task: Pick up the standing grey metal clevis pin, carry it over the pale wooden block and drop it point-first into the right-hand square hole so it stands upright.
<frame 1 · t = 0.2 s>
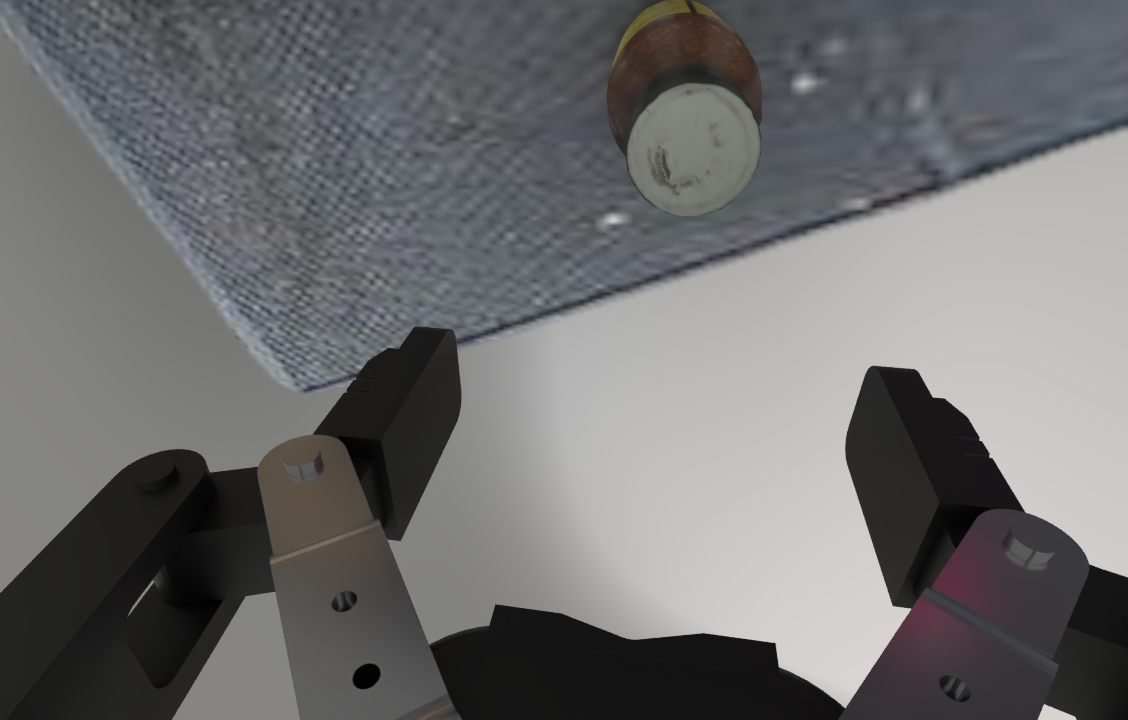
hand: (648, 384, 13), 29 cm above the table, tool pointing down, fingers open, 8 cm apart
sauce bottle: (677, 60, 36), on the table
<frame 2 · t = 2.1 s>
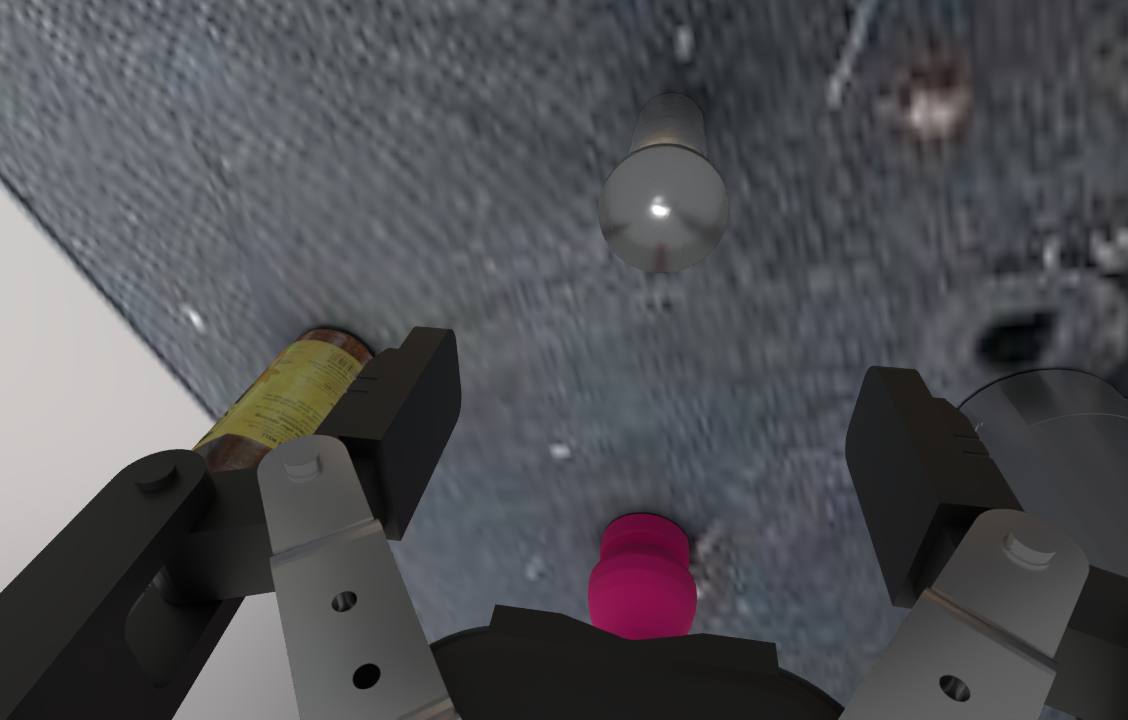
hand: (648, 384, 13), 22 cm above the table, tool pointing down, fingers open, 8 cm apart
clevis pin: (669, 128, 31), on the table
pepper mill: (645, 541, 47), on the table
sauce bottle: (341, 365, 42), on the table
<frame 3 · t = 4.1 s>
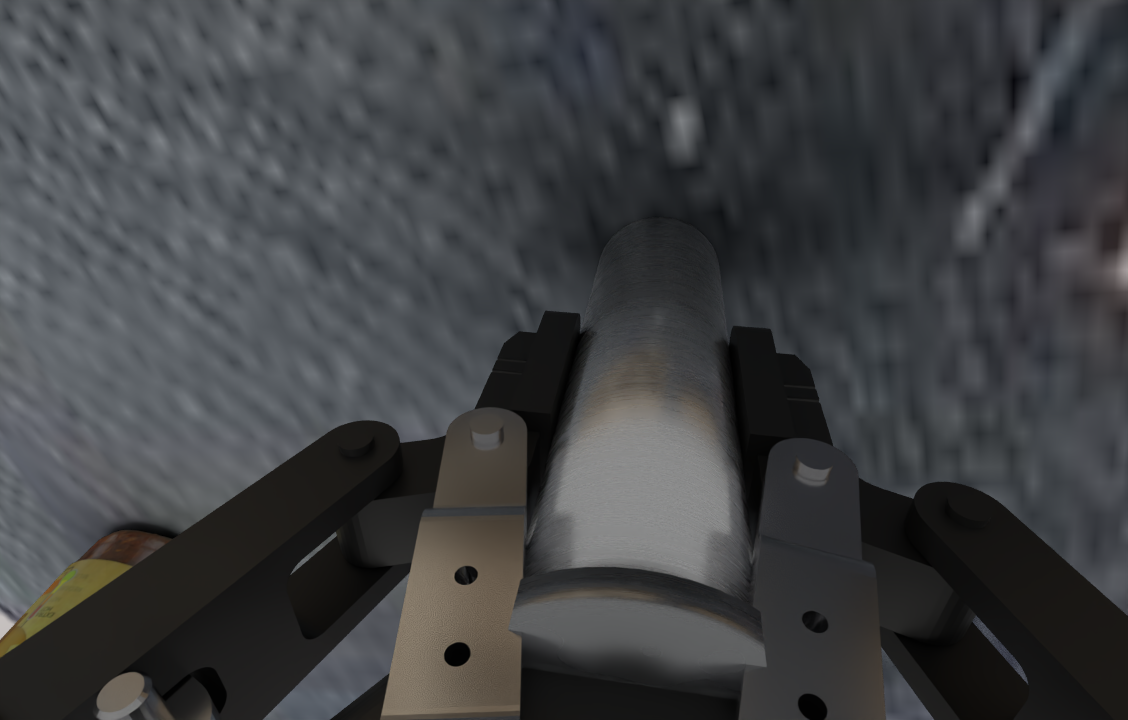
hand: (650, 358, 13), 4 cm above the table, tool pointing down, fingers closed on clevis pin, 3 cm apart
clevis pin: (657, 274, 17), on the table, touching gripper
sauce bottle: (173, 569, 28), on the table
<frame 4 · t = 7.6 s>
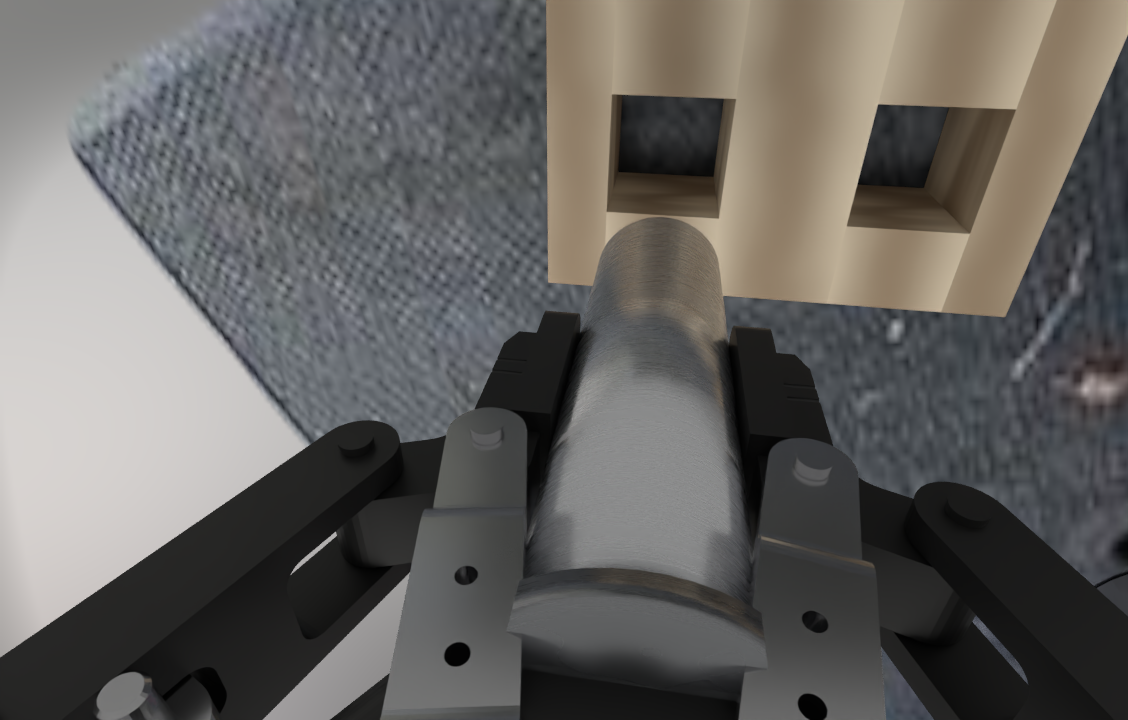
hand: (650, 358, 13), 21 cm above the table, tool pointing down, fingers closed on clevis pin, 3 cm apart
hole block: (775, 129, 31), on the table
clevis pin: (657, 274, 17), point 17 cm above the table, touching gripper
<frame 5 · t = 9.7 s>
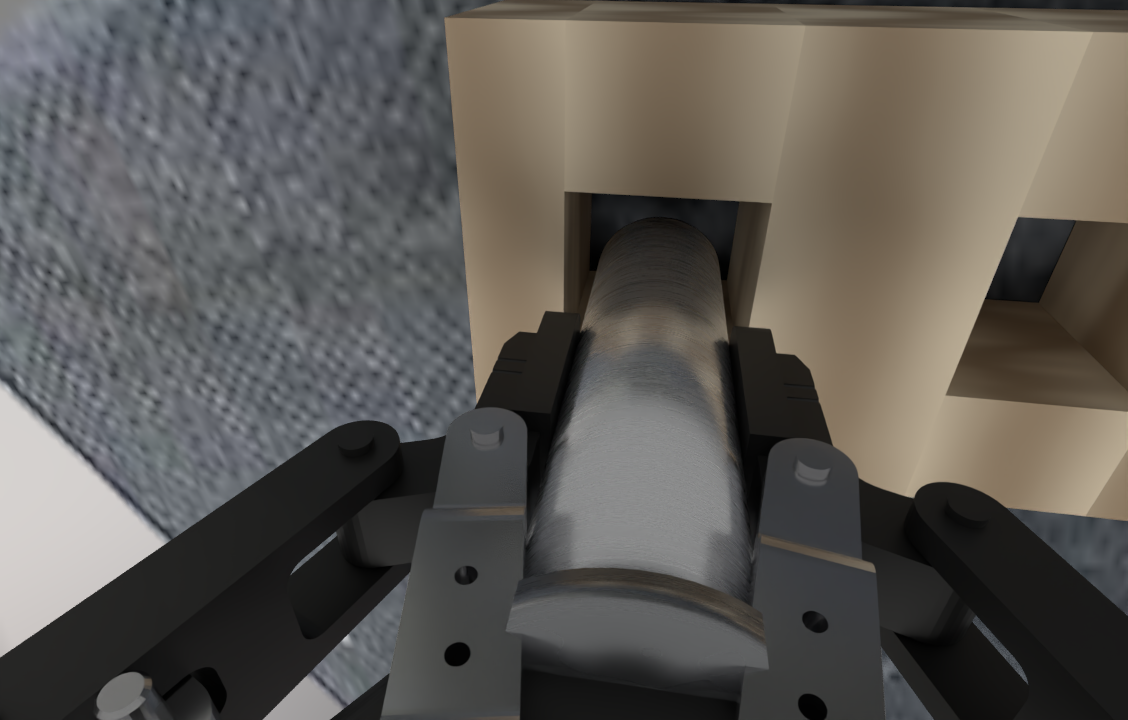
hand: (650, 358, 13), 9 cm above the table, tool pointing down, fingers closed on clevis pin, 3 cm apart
hole block: (820, 218, 21), on the table
clevis pin: (657, 274, 17), point 5 cm above the table, touching gripper
when the fingers open (7 cm above the table, at t = 11.2 s): clevis pin drops 3 cm, resting in hole block.
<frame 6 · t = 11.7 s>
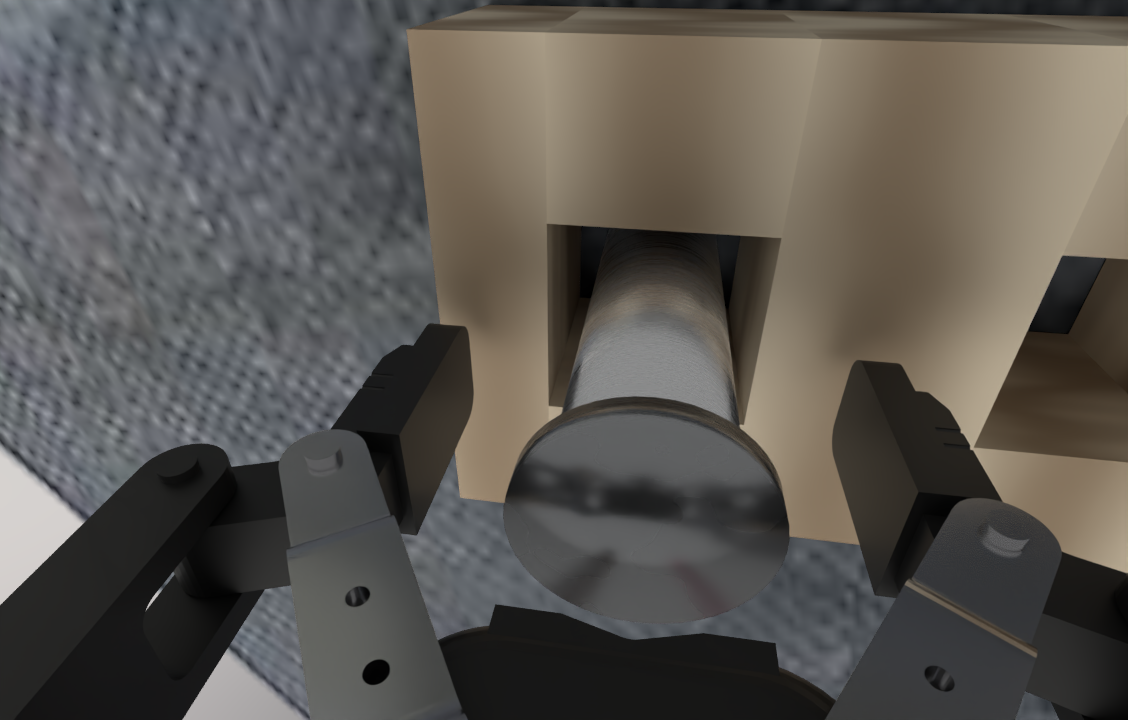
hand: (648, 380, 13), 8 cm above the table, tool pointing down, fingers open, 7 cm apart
hole block: (830, 243, 19), on the table
clevis pin: (661, 234, 19), resting in hole block
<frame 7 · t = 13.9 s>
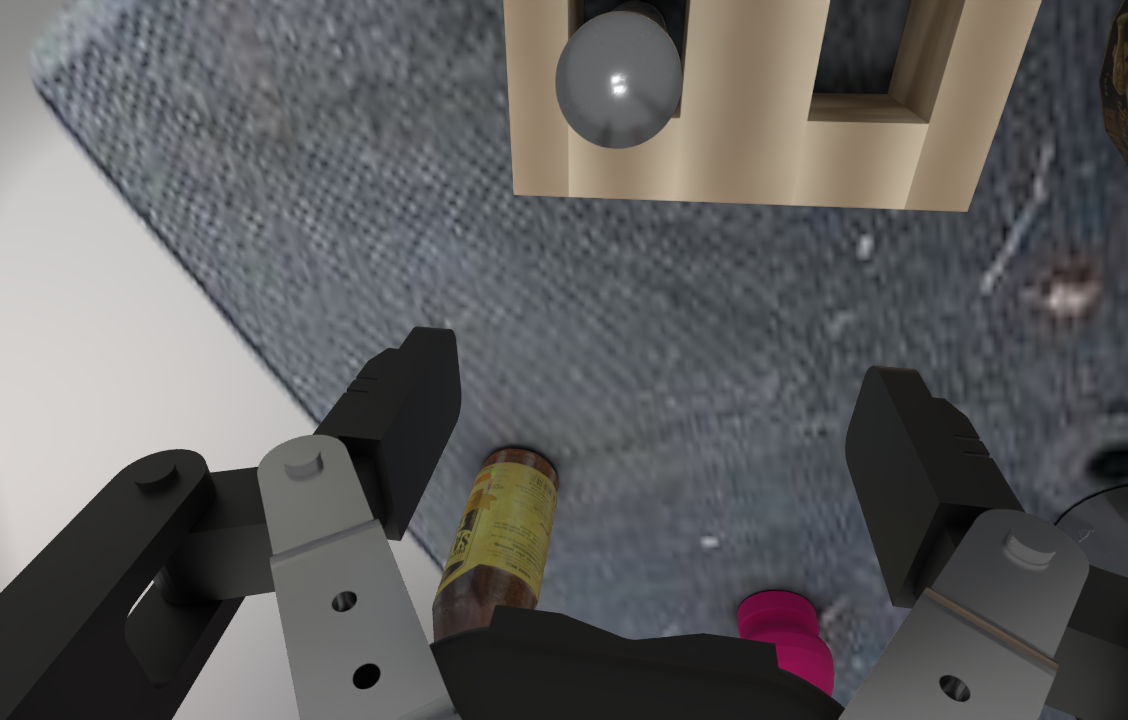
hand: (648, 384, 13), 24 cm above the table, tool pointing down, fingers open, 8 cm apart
hole block: (738, 37, 30), on the table
clevis pin: (634, 37, 31), resting in hole block
pepper mill: (775, 611, 53), on the table
sauce bottle: (520, 474, 49), on the table
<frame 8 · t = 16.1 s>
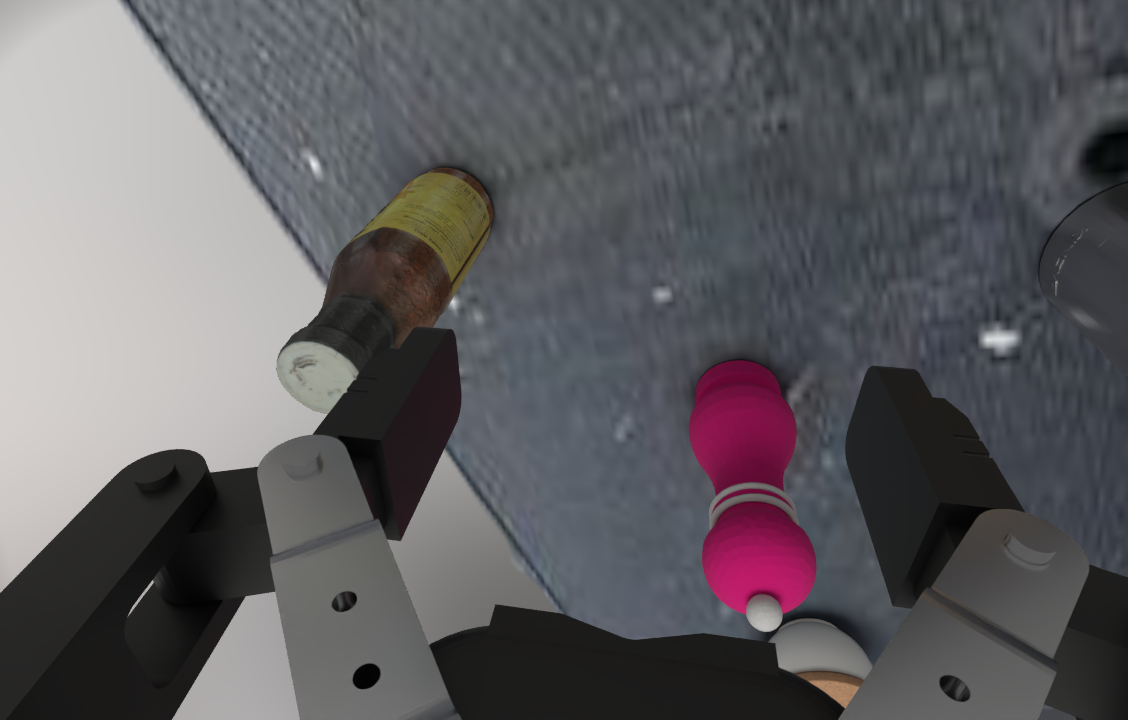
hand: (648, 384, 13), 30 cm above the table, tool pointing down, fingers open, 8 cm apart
lidded jar: (808, 635, 62), on the table
pepper mill: (736, 392, 48), on the table
sauce bottle: (453, 210, 44), on the table
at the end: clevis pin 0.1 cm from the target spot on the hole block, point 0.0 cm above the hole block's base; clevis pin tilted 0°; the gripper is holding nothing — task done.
